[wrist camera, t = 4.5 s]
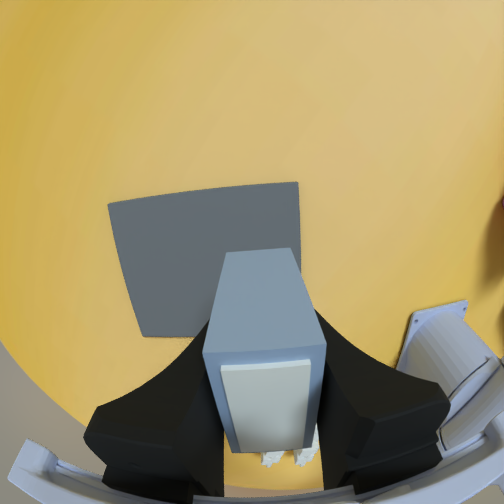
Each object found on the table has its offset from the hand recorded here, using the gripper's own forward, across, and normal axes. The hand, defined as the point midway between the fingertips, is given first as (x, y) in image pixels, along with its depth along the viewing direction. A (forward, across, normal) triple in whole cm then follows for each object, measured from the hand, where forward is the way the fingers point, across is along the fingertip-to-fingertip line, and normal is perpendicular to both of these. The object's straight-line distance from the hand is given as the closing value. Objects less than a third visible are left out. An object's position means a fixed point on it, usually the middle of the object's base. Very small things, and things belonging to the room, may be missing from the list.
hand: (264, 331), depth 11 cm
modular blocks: (+10, -3, +20) cm, 23 cm away
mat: (+9, +4, +1) cm, 10 cm away
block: (+3, 0, 0) cm, 3 cm away
